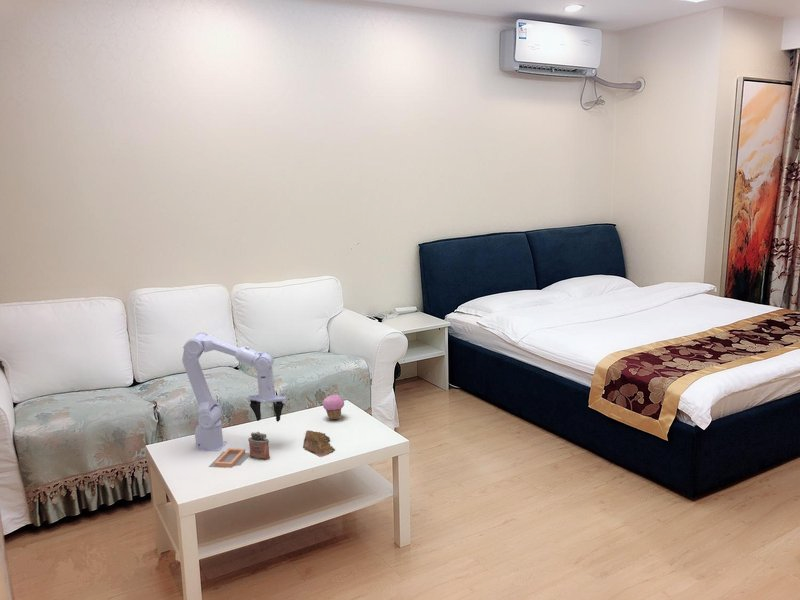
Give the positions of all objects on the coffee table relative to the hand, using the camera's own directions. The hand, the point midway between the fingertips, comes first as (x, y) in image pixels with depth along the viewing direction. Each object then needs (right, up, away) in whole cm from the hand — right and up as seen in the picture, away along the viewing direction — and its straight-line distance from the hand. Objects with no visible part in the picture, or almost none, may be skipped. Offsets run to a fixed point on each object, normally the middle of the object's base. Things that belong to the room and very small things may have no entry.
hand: (268, 420), depth 230 cm
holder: (-12, -13, -9) cm, 20 cm away
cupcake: (+22, -5, +27) cm, 35 cm away
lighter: (-1, -13, -8) cm, 15 cm away
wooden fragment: (+22, -11, +5) cm, 25 cm away
